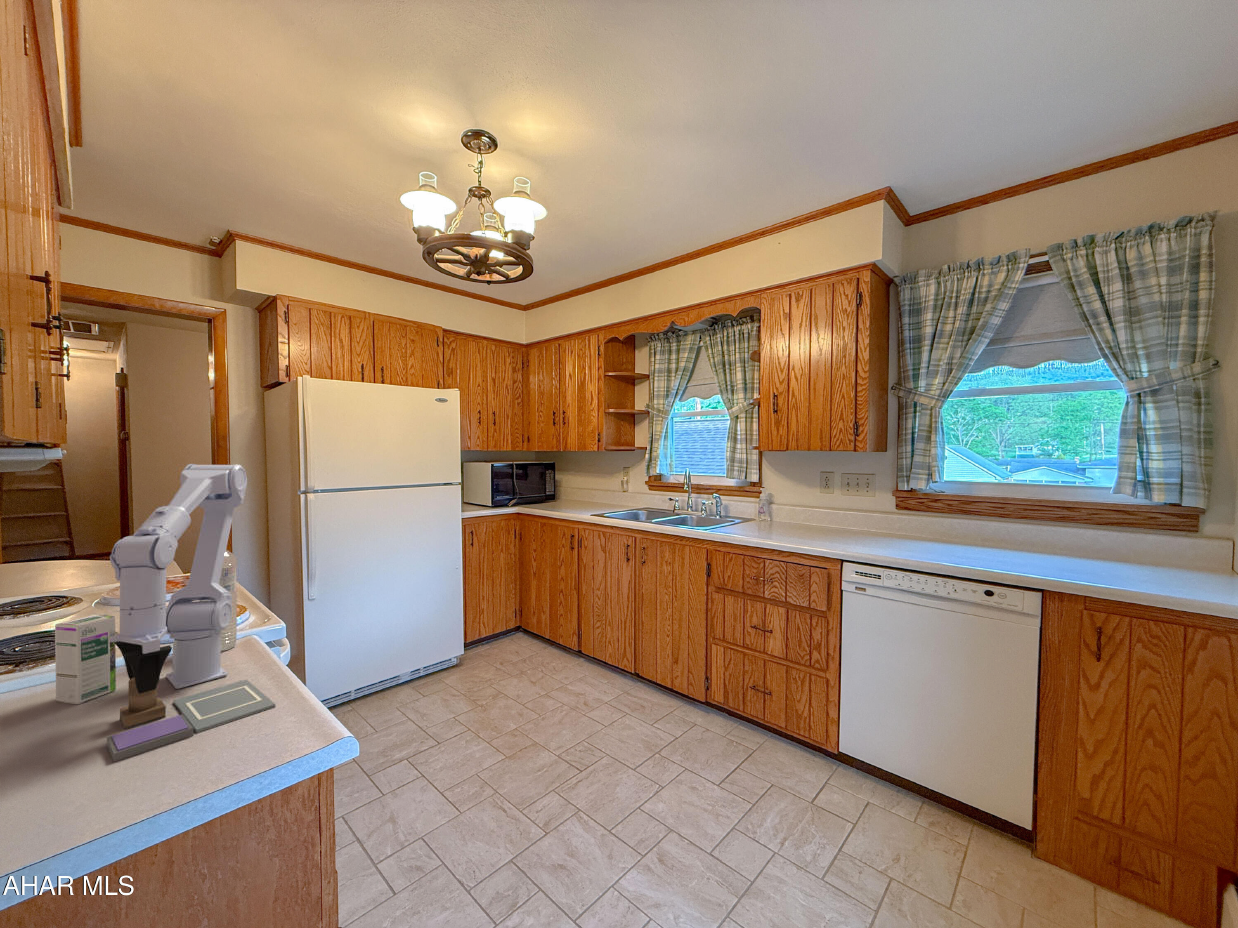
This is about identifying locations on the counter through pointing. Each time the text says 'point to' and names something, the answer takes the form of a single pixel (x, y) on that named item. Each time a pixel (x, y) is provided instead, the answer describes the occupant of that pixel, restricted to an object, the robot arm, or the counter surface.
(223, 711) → the board
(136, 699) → the stamp
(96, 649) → the syrup box
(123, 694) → the counter surface
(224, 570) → the water bottle
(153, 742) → the ink pad
